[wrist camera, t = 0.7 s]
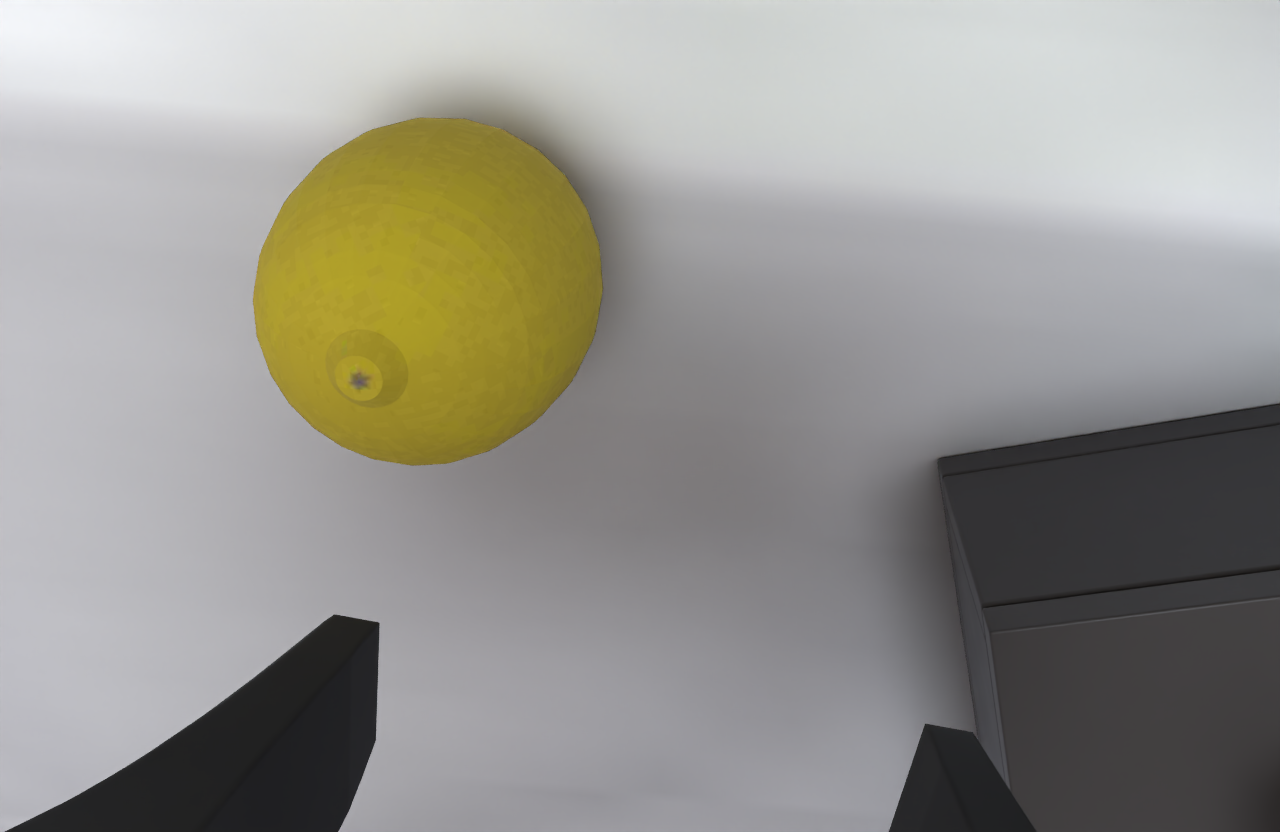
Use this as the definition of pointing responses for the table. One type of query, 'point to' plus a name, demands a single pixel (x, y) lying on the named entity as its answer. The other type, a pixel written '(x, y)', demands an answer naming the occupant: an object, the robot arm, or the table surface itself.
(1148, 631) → the dark grey box lid
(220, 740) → the robot arm
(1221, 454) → the dark grey square box
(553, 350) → the lemon
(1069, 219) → the table surface
